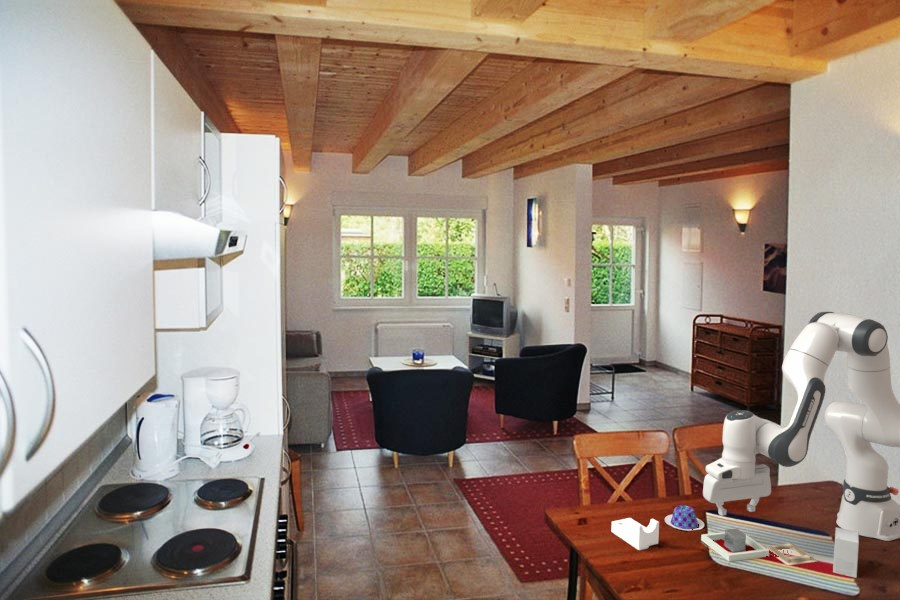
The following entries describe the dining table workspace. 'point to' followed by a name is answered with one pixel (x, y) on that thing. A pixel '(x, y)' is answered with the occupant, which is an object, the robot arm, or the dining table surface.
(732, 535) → the gray block
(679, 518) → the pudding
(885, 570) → the dining table surface
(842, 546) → the small box
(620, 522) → the bracket
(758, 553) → the tray
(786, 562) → the socket holder
